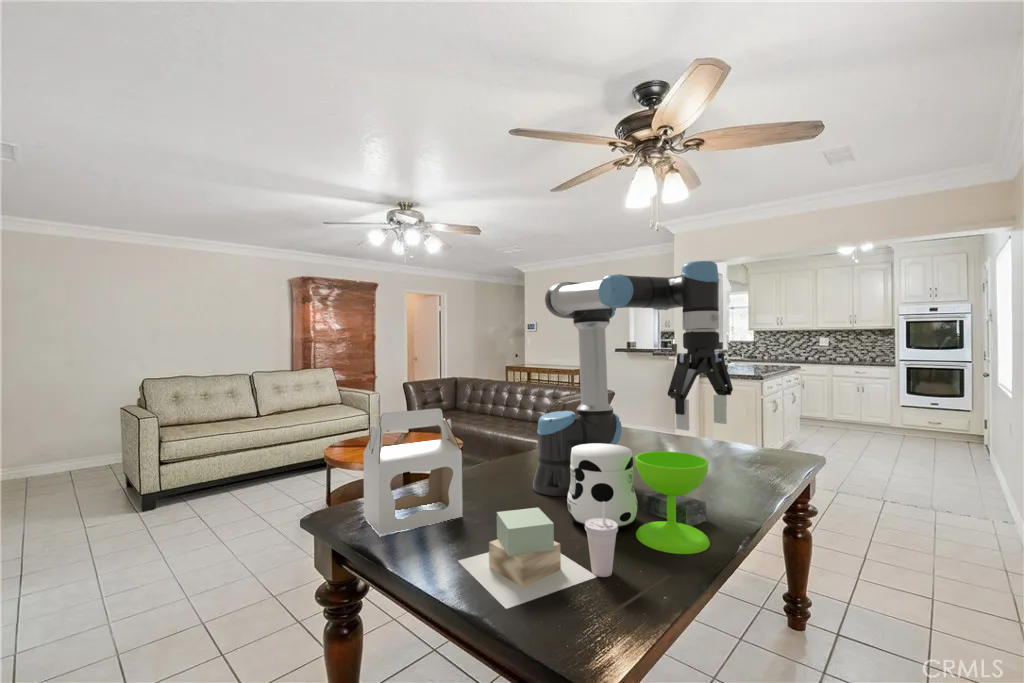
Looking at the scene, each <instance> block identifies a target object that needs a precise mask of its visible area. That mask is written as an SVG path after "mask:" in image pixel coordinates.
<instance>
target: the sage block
mask: <svg viewBox="0 0 1024 683" xmlns="http://www.w3.org/2000/svg"><path fill="white" fill-rule="evenodd" d="M554 526H555V523H554V522H553V521H552V520H551V519H550V518H549V517H548V516H547V515H546V514H545V513H544V512H543V511H542V510H541V508H540V507H531V508H523V509H514V510H513V509H512V510H504V511H496V537H497V539H499V541H500V543H501V544H502V546H503V548H504V549H505V551H506V553H507V555H508V556H513V555H520V554H528V553H535V552H542V551H549V550H554V541H555V535H554V534H555V531H554V530H555V529H554Z"/></svg>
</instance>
